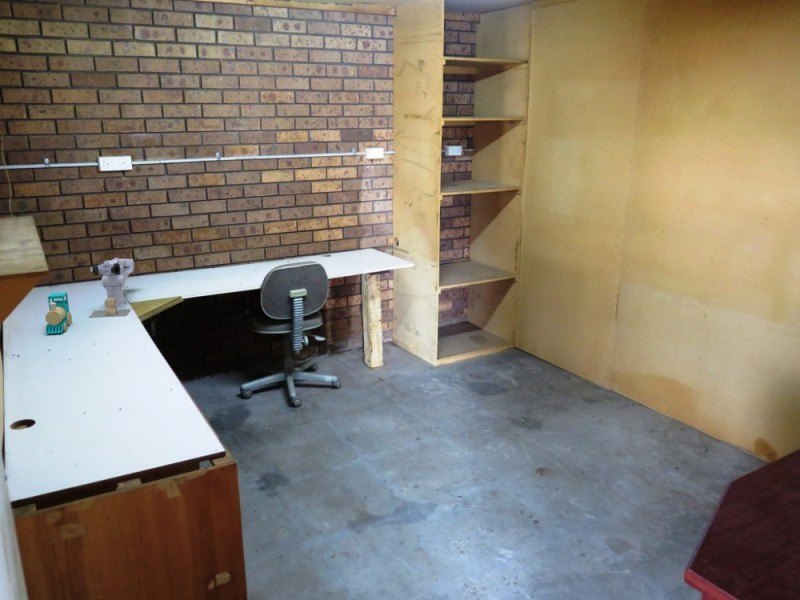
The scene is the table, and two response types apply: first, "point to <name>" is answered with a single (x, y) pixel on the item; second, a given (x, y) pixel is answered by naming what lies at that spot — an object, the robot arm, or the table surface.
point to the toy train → (58, 314)
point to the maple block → (110, 306)
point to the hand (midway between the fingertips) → (103, 271)
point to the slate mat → (103, 314)
